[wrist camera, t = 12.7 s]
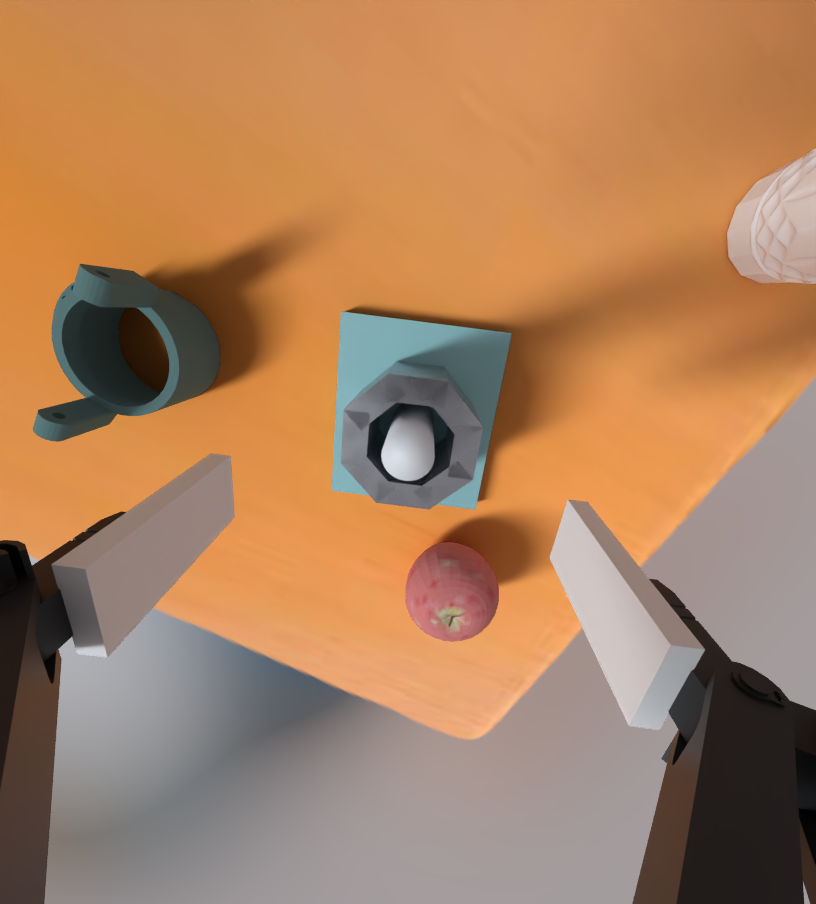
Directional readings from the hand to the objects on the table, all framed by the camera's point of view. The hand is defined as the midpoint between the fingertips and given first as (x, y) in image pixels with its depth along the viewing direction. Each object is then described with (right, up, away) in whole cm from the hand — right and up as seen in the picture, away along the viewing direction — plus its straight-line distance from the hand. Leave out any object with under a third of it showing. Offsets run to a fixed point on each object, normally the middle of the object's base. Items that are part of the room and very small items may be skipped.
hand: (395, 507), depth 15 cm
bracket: (-18, +11, +14) cm, 26 cm away
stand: (+1, +5, +15) cm, 16 cm away
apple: (+4, -8, +20) cm, 22 cm away
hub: (+1, +5, +14) cm, 15 cm away
